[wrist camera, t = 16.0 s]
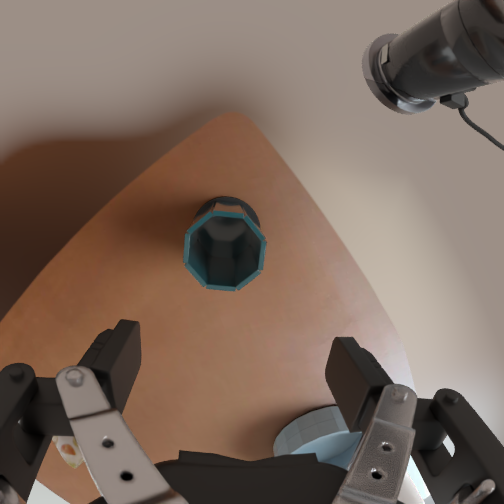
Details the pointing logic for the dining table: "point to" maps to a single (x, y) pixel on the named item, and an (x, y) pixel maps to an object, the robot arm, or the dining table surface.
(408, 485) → the cup
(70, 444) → the white pear shape
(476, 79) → the robot arm
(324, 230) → the dining table surface
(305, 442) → the glazed bowl
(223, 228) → the teal cup
